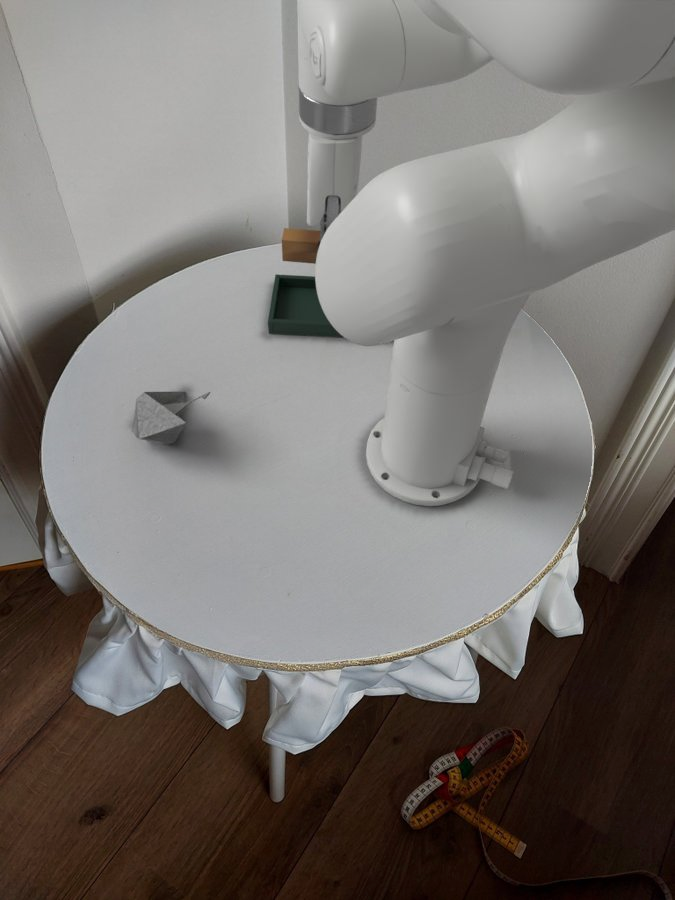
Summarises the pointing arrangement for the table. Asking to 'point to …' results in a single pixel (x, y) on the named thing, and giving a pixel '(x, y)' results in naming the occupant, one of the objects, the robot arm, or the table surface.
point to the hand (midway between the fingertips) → (333, 255)
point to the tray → (298, 308)
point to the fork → (300, 245)
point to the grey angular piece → (160, 416)
